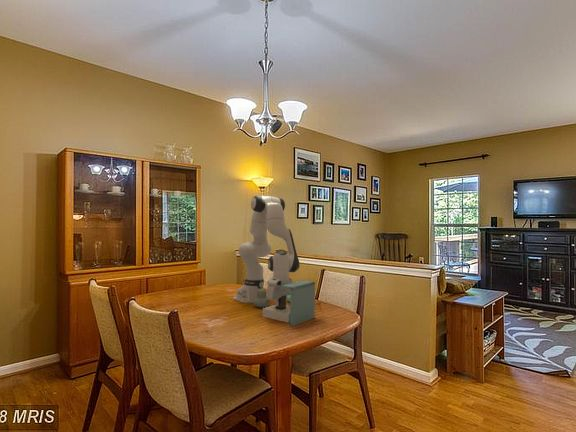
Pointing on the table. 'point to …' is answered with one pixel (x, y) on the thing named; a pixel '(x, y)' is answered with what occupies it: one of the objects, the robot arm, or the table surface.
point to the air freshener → (261, 299)
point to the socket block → (277, 313)
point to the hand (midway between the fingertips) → (280, 305)
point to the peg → (282, 303)
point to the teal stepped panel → (301, 301)
